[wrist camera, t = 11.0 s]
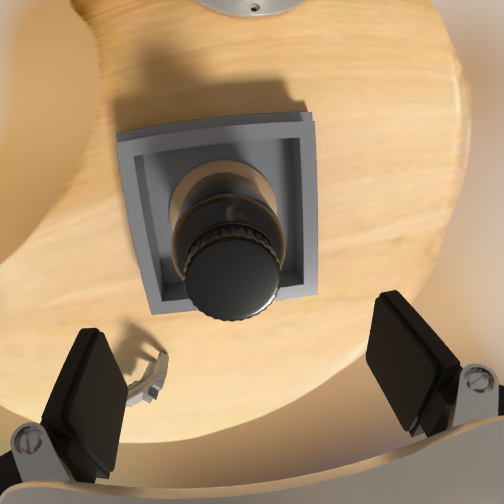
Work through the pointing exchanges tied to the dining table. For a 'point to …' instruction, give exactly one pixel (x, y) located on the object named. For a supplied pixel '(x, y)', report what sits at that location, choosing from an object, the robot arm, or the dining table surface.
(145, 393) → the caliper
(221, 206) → the supplement bottle
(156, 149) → the housing
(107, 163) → the dining table surface
